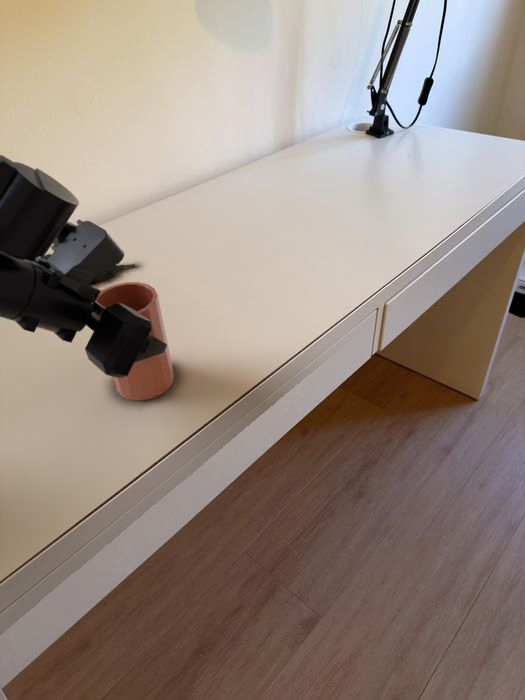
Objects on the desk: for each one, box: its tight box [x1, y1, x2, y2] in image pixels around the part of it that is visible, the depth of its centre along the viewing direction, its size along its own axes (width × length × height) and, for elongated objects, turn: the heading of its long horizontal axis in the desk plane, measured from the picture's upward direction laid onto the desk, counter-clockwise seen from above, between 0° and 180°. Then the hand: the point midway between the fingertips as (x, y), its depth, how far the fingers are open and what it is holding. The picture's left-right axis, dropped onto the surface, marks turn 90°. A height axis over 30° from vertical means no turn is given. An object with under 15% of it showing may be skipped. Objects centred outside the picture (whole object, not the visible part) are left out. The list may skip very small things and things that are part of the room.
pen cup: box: [94, 281, 175, 401], centre depth 61 cm, size 7×7×12 cm
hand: (141, 331), depth 61 cm, fingers open, 9 cm apart
